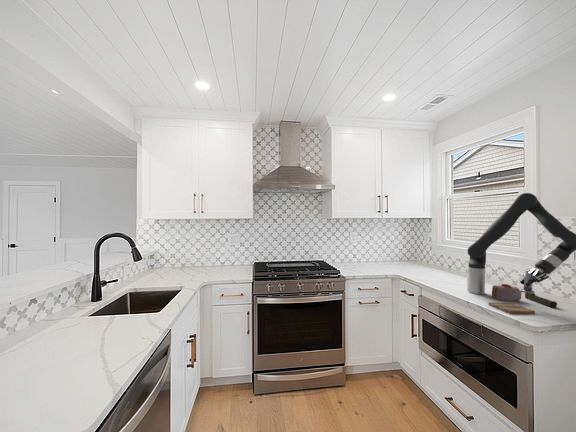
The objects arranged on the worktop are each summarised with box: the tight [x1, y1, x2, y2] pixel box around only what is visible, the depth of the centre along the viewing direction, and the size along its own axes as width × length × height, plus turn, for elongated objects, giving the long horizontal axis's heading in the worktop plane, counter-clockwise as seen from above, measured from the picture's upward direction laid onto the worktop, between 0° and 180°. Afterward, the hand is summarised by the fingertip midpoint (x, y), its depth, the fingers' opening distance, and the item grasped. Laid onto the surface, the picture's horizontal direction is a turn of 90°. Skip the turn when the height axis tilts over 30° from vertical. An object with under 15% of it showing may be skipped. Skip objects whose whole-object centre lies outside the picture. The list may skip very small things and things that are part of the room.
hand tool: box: [524, 293, 558, 309], centre depth 157 cm, size 19×4×5 cm, turn 175°
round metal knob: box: [520, 271, 535, 294], centre depth 147 cm, size 6×6×11 cm
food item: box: [491, 283, 523, 302], centre depth 162 cm, size 14×8×10 cm, turn 85°
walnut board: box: [488, 301, 536, 315], centre depth 145 cm, size 14×14×2 cm
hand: (523, 284), depth 147 cm, fingers closed on round metal knob, 3 cm apart
